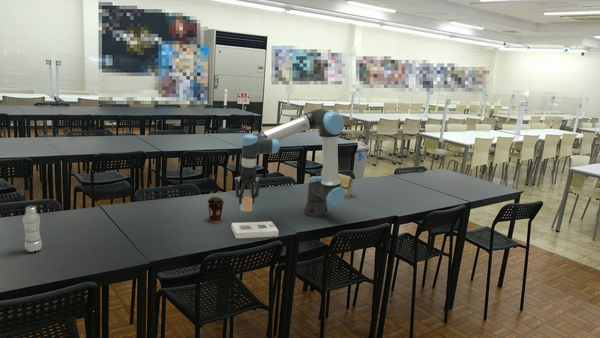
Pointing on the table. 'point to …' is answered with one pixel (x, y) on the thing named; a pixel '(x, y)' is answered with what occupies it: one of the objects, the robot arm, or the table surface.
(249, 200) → the tan rectangular block
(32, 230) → the plastic bottle
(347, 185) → the clutch purse
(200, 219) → the table surface
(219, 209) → the coffee cup
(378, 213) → the table surface
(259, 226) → the socket box
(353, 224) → the table surface
